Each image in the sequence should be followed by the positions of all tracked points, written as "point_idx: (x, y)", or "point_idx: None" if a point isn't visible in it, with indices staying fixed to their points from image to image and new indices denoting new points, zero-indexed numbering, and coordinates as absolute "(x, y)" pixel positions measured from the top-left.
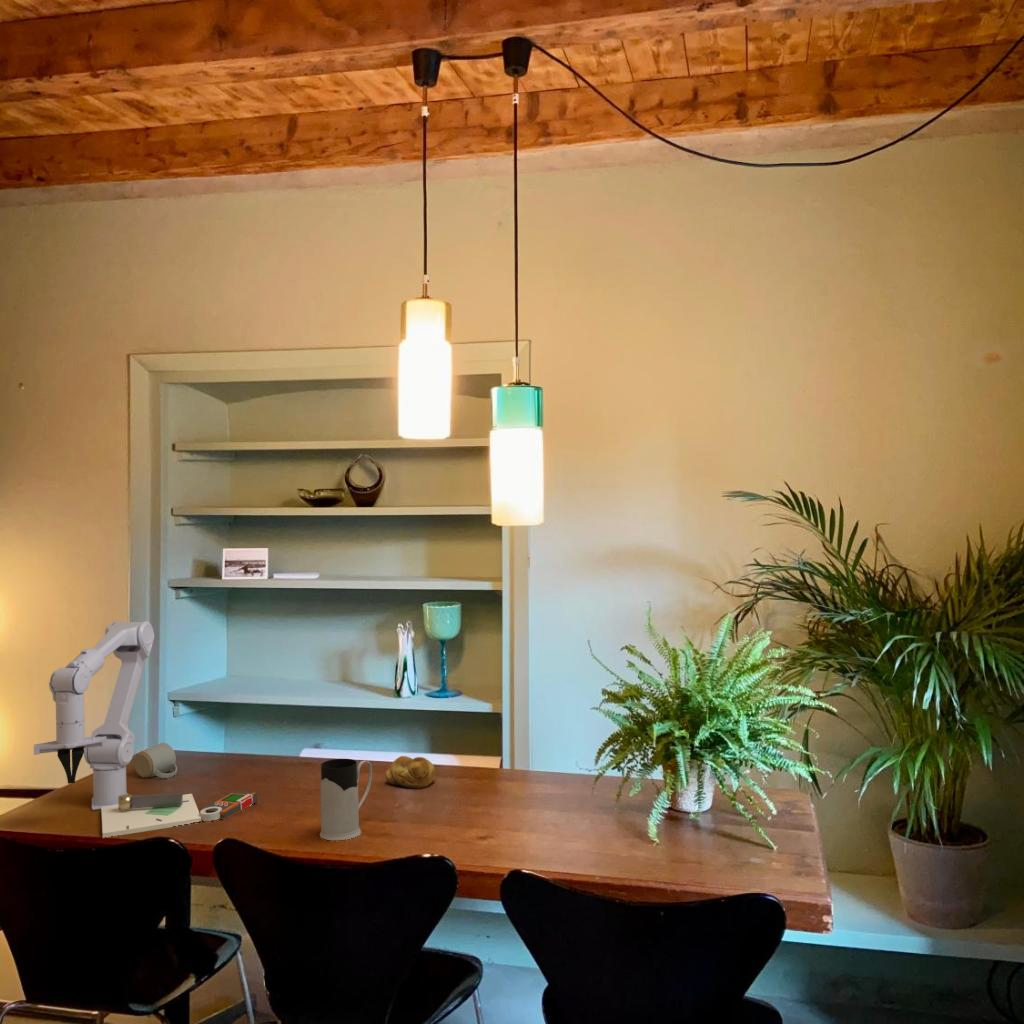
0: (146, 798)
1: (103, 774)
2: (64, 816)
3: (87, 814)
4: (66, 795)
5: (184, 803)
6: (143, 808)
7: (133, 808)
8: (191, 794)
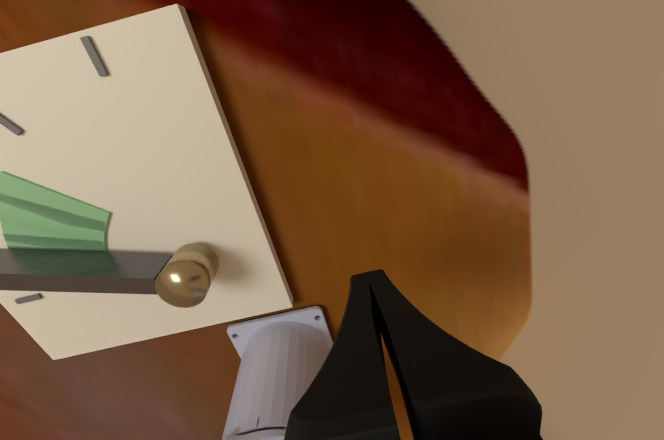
0: (101, 271)
1: (283, 411)
2: None
3: (326, 280)
4: None
5: None
6: None
7: None
8: (49, 353)
